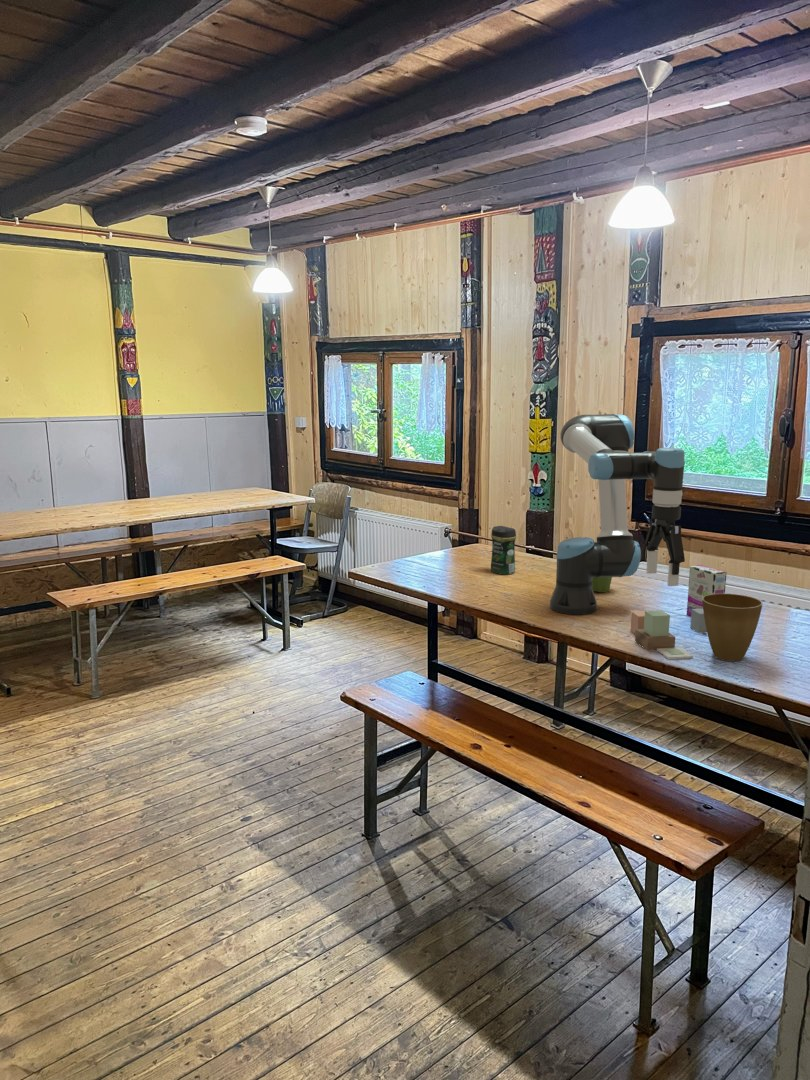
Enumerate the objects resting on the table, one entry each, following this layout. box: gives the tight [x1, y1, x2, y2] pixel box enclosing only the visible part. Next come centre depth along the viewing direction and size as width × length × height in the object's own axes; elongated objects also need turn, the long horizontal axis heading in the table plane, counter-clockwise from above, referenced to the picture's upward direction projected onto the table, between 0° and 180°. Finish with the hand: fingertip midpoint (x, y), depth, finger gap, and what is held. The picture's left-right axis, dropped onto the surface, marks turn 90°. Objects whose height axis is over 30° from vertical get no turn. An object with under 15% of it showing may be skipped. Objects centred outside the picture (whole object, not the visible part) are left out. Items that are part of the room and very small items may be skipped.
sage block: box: [644, 609, 671, 637], centre depth 213 cm, size 5×5×6 cm
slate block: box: [689, 609, 707, 634], centre depth 227 cm, size 5×5×6 cm
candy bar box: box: [686, 564, 727, 618], centre depth 236 cm, size 11×5×16 cm, turn 21°
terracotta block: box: [630, 610, 646, 634], centre depth 225 cm, size 5×5×6 cm
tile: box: [656, 646, 694, 660], centre depth 207 cm, size 7×7×1 cm
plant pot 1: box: [592, 577, 613, 593], centre depth 272 cm, size 12×12×11 cm
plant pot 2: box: [702, 593, 763, 662], centre depth 203 cm, size 15×15×16 cm
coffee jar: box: [490, 525, 517, 575], centre depth 298 cm, size 10×8×19 cm
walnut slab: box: [634, 629, 676, 651], centre depth 214 cm, size 8×8×4 cm
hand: (661, 579), depth 212 cm, fingers open, 13 cm apart
